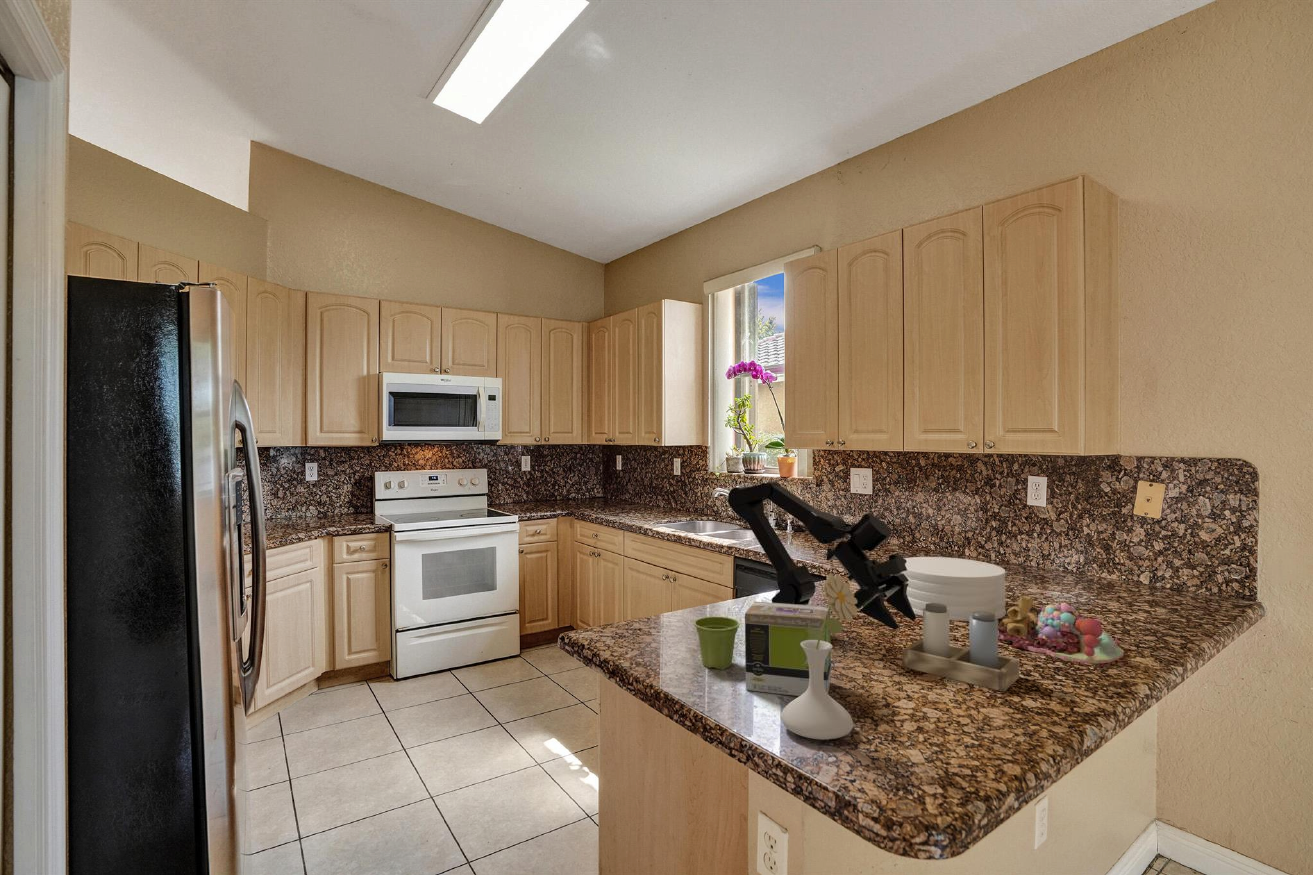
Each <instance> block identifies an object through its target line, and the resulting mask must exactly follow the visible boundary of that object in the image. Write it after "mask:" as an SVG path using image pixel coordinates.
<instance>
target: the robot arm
mask: <svg viewBox="0 0 1313 875" xmlns="http://www.w3.org/2000/svg"><path fill="white" fill-rule="evenodd" d="M726 500H727V503H728V506H729V507H730V508H731V510H732V511H733V513H735V514H736V515H737V516H738V517H739V518H740V519H742V520H743V521H744V522H746V523H747V525H748V526H749V528H750V530H751V531H752V533H753V535H754V536H755V539H756V540H757V542H758V543H759V545H760V547H761V548H762V550H763V552H764V554H765V555H766V558H767V559H768V561H770V562H769V563H771V565H772V567H773V569H774V571H775V574H776V582H777V587H778V590H779V591H778V592H777V593H776V594H775V595H774V596H773V597H771V603H784V604H798V605H809V604H810V600H811V598H813V597H814V595H815V593H816V584H815V579H816V578H814V577H813V576H812V574H811V573H810V570H809V568H808V567H807V565H805V564H804V565H800V566H799V565H798V564H797V563H795V562H794V561H793V559H792V557H791V555H790V554H789V552H788V550H787V549H786V547H785V546H784V544H783V542H782V541H781V539H780V538H779V535H778V534H777V532H776V530H774V528H773V525H772V524H771V523H770V521H769V519H768V518H767V515H766V514H765V507H764V506H765V505H764V501H767V500H768V501H770V502H771V503H773V504H774V505H776V506H777V507H779V508H780V509H781V510H783V511H784V512H786V513H787V514H788V515H790V516H792V517H793V518H794V519H796V520H798V521H799V522H800V523H802V524H803V526H804V527H805V528H806V530H807V532H808V534H810V535H811V536H812V537H813V538H814V539H815V540H816V541H817V542H818V543H820V544H822V545H829V544H833V543H837V542H838V543H837V544H836V545H835V546H834V547H833V546H832V547H831V546H830V547H828V548H827V549H826V551H827V554H826V557H825V558H826V561H832V560H835V559H837V560H838V562H839V563H840V564H841V565H842V567H843V568H844V569H845V570H846V572H847V574H849V575H848V576H847V579H848V580H849V581H850V582H851V581H854V582H855V583H856V585H857V586H858V587H859V589H857V590H856V591H855V592H853V594H854V598H856V599H857V604H854V605H855V606H856V607H857V611H858V613H860V614H864V615H866V616H868V617H870V618H872V619H874V620H876V621H878V622H879V623H881V624H883V625H885V626H886V627H889V628H890V629H892V630H893V631H896V630H898V629H899V624H898V623H897V621H896V619H895V618H894V616H893V615H892V613H891V612H890V610H889V608H888V607H887V606H886V604H885V602H886V603H887V604H889V605H890V606H891V607H893V608H894V609H896V611H898V612H899V613H900V614H902V615H904V616H905V617H906V618H908V619H909V620H910V621H911V622H912V621H913V622H914V621H915V620H917V615H916V614H915V613H914V611H913V609H912V607H911V604H910V602H909V600H908V597H907V594H906V592H907V587H908V583H907V582H908V581H909V580H908V578H907V577H906V576H905V575H904V574H902V573H901V572H903V571H907V568H906V566H905V563H906V562H907V561H906V560H905V559H904V558H905V557H904V556H903V555H901V554H899V553H898V552H897V553H893V554H890V555H889V556H888V560H885V561H883V562H879V561H878V560H877V559H875V558H872V559H871V558H870V557H869V556H868V555H867V554H866V552H870V553H872V552H874V551H875V550H876V549H877V548H878V547H879V546H881V545H882V544H883V543H884V542H886V540H887V539H888V538H890V537H891V536H892V532H891V529H890V527H889V526H888V525H887V524H886V522H884V521H882V520H881V519H879V518H878V517H876V516H874V515H873V514H872V513H871V512H867V513H865V514H863V515H862V517H861V518H860V519H859V520H858V521H857V522H856V524H854V525H853V524H851V523H847V522H846V521H845V520H844V519H843V518H841V517H840V516H837V515H835V514H832V513H831V512H826V511H823V510H819V509H818V508H815V507H814V506H812V505H810V504H809V503H808V502H806V501H804V500H803V499H802V498H800V497H799V496H797V495H796V494H794V493H792V492H791V491H789V490H788V489H786V488H785V487H783V486H782V485H781V484H780V483H779V482H778V481H773V480H772V481H765V482H762V483H759V484H757V485H753V486H749V485H748V486H741V487H740V486H739V487H733V488H732V489H730V491H729V492H728V495H727V499H726ZM848 537H849V538H848ZM845 538H848V539H847V540H846V541H845V540H844V539H845ZM906 583H907V584H906Z"/></svg>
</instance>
